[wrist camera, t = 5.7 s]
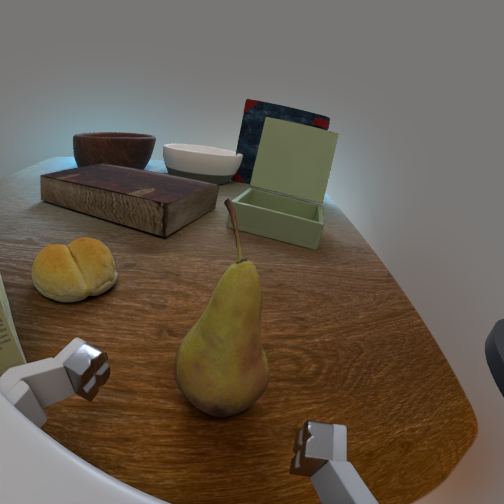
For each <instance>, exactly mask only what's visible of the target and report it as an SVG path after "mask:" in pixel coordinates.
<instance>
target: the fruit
mask: <svg viewBox="0 0 504 504" xmlns="http://www.w3.org/2000/svg"><path fill="white" fill-rule="evenodd" d="M224 204H225V205H226V207H227V209H228V211H229V214H230V217H231V222H232V226H233V230H234V234H235V238H236V246H237V250H238V261H237V263H235V264H232V265H231V266H229V268H228V269H227V270H226V272H225V273H224V275H223V276H222V278H221V279H220V281H219V283H218V284H217V286H216V288H215V290H214V292H213V294H212V296H211V298H210V301H209V303H208V306H207V308H206V309H205V311H204V313H203V314H202V316H201V317H200V319H199V320H198V321H197V323H196V324H195V325H194V326H193V327H192V329H191V330H190V331H189V332H188V334H187V335H186V336H185V338H184V339H183V341H182V342H181V344H180V346H179V349H178V351H177V355H176V360H175V377H176V381H177V384H178V386H179V388H180V390H181V391H182V393H183V394H184V396H185V397H186V398H187V399H188V400H189V402H190V403H191V404H193V405H194V406H195V407H196V408H198V409H200V410H201V411H203V412H204V413H206V414H208V415H211V416H216V417H227V416H231V415H235V414H237V413H240V412H242V411H244V410H246V409H247V408H248V407H250V406H251V405H252V404H253V403H254V402H255V401H256V400H257V399H258V398H259V397H260V396H261V395H262V394H263V392H264V391H265V389H266V387H267V385H268V382H269V374H270V371H269V364H268V361H267V358H266V355H265V353H264V351H263V348H262V338H261V332H260V323H261V310H262V290H261V282H260V278H259V275H258V272H257V269H256V267H255V266H254V264H253V263H252V262H250V261H249V260H247V259H245V257H244V254H243V251H242V246H241V241H240V236H239V230H238V224H237V218H236V213H235V209H234V207H233V205H232V203H231V201H230V200H229V199H227V200H226V201H225V202H224Z"/></svg>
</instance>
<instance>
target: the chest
mask: <svg viewBox="0 0 504 504" xmlns="http://www.w3.org/2000/svg"><path fill="white" fill-rule="evenodd" d="M231 203H232V205H233V207H234V209H235V213H236V218H237V224H238V230H240V231H244V232H248V233H252V234H256V235H260V236H264V237H267V238H271V239H275V240H279V241H283V242H287V243H290V244H294V245H298V246H302V247H306V248H309V249H313V250H317V248H318V244H319V241H320V238H321V234H322V231H323V227H324V221H323V213H322V206H321V205H317V204H314V203H310V202H306V201H302V200H299V199H295V198H291V197H287V196H283V195H279V194H275V193H270V192H266V191H262V190H258V189H253V188H249V189H247V190H246V191H245V192H243V193H242V194H241V195H239V196H238V197H237V198H235V199H234V200H232V201H231ZM227 227H228V228H232V229H233V226H232V222H231V217H230V214H229V216H228V223H227Z"/></svg>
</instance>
